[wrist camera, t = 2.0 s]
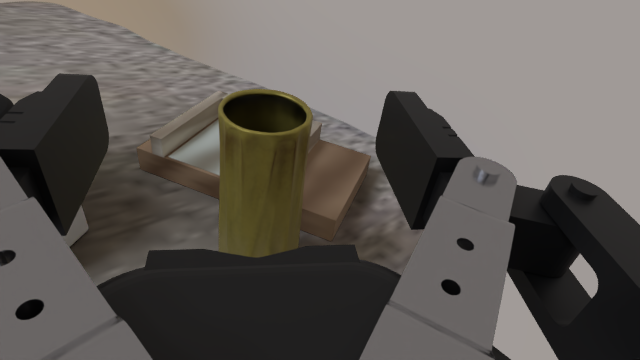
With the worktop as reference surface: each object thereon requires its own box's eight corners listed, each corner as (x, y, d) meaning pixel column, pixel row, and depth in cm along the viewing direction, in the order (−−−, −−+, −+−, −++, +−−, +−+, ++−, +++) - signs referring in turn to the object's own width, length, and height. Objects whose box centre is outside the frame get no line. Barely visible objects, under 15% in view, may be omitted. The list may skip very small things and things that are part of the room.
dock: (140, 169, 38) (133, 129, 36) (205, 121, 47) (204, 86, 44) (331, 241, 34) (340, 202, 32) (366, 175, 43) (375, 139, 40)
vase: (256, 325, 27) (267, 153, 19) (198, 274, 30) (184, 104, 21) (312, 273, 31) (342, 113, 23) (257, 233, 34) (265, 76, 25)
